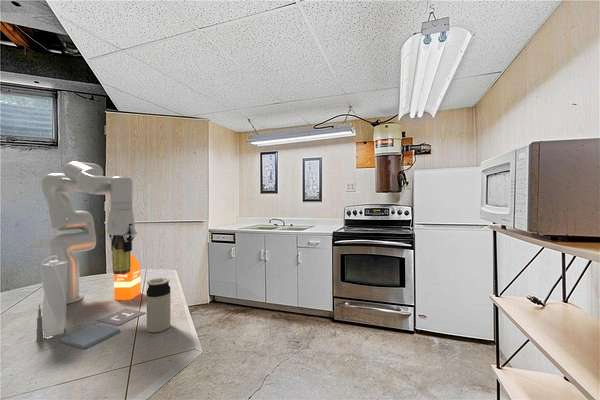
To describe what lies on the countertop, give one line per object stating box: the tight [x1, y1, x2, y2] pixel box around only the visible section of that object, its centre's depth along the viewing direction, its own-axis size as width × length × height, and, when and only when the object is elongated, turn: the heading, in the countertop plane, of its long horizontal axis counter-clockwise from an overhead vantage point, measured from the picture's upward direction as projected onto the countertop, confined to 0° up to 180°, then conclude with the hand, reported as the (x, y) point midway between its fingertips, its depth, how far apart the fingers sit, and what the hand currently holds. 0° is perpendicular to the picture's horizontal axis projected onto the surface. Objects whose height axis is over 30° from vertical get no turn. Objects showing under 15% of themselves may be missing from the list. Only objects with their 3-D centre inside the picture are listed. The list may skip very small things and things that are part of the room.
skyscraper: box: [35, 255, 68, 343], centre depth 97 cm, size 8×8×28 cm
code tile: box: [96, 308, 147, 326], centre depth 111 cm, size 12×12×1 cm
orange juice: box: [113, 253, 142, 301], centre depth 133 cm, size 8×9×20 cm
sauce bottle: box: [111, 235, 132, 274], centre depth 111 cm, size 7×6×20 cm
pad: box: [60, 323, 121, 350], centre depth 95 cm, size 12×12×1 cm
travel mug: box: [146, 277, 171, 334], centre depth 101 cm, size 8×8×18 cm
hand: (121, 250), depth 111 cm, fingers closed on sauce bottle, 6 cm apart
